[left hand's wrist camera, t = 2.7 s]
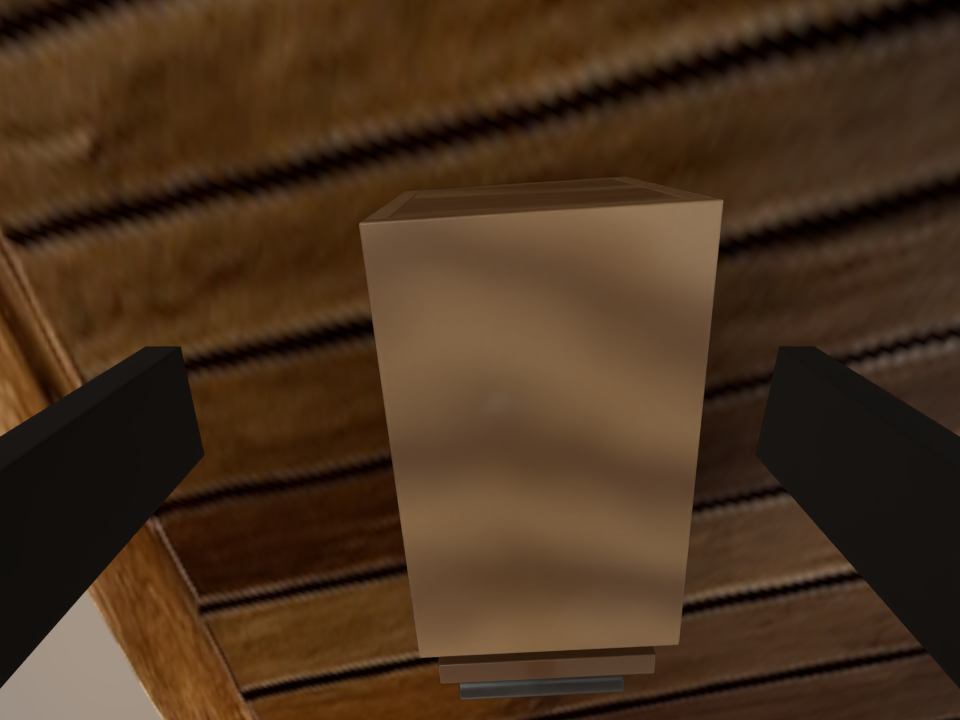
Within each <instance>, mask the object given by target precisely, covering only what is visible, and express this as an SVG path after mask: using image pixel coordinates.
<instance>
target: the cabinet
mask: <svg viewBox="0 0 960 720" xmlns="http://www.w3.org/2000/svg"><path fill="white" fill-rule="evenodd" d="M722 209H723V200H722V199H718V198H714V197H710V196H706V195H702V194H698V193H693V192H689V191H685V190H681V189H676V188H672V187H668V186H663V185H659V184H655V183H651V182H646V181H642V180H638V179H634V178H629V177H612V178H596V179H581V180H565V181H550V182H534V183H519V184H503V185H488V186H472V187H457V188H441V189H426V190H410V191H405V192H403V193H402V194H401V195H399V196H398V197H396V198H395V199H393V200H392V201H391V202H389V203H388V204H386V205H385V206H383V207H382V208H381V209H379V210H378V211H376V212H375V213H373V214H372V215H371V216H369V217H368V218H366V219H365V220H363V221H362V222H360V223H359V228H360V236H361V243H362V250H363V257H364V264H365V271H366V278H367V285H368V292H369V300H370V307H371V314H372V321H373V328H374V335H375V342H376V349H377V356H378V363H379V371H380V378H381V385H382V392H383V399H384V406H385V413H386V420H387V427H388V435H389V442H390V449H391V456H392V463H393V470H394V477H395V484H396V491H397V499H398V506H399V513H400V520H401V527H402V534H403V541H404V548H405V555H406V563H407V570H408V577H409V584H410V591H411V598H412V605H413V612H414V619H415V627H416V634H417V641H418V648H419V655H420V657H441V656H461V655H481V654H501V653H521V652H541V651H562V650H582V649H602V648H622V647H642V646H662V645H678V644H679V636H680V626H681V617H682V607H683V597H684V587H685V577H686V567H687V557H688V547H689V537H690V527H691V517H692V507H693V497H694V487H695V477H696V468H697V458H698V448H699V438H700V428H701V418H702V408H703V398H704V388H705V378H706V368H707V358H708V348H709V338H710V328H711V319H712V309H713V299H714V289H715V279H716V269H717V259H718V249H719V239H720V229H721V219H722Z"/></svg>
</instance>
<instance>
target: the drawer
mask: <svg viewBox="0 0 960 720" xmlns="http://www.w3.org/2000/svg"><path fill="white" fill-rule="evenodd" d="M655 657H656V654H655V651H654V648H653V646H642V647H622V648H602V649H582V650H562V651H541V652H521V653H501V654H481V655H461V656H441V657H439V673H440V681H441V683H459V688H460V698H461V699H462V700H465V699H486V698H507V697H527V696H548V695H569V694H589V693H610V692H623V689H624V680H623V675H626V674H646V673H654V669H655Z"/></svg>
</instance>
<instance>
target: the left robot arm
mask: <svg viewBox="0 0 960 720" xmlns="http://www.w3.org/2000/svg"><path fill="white" fill-rule="evenodd" d="M203 456H204V451H203V446H202V442H201V437H200V432H199V428H198V423H197V419H196V414H195V410H194V405H193V400H192V396H191V391H190V387H189V382H188V378H187V373H186V368H185V364H184V359H183V355H182V350H181V347H144V348H143V349H141V350H139V351H138V352H136V353H135V354H133V355H131V356H130V357H128V358H126V359H125V360H123V361H122V362H120V363H118V364H117V365H115V366H114V367H112V368H110V369H109V370H107V371H105V372H104V373H102V374H101V375H99V376H97V377H96V378H94V379H93V380H91V381H89V382H88V383H86V384H84V385H83V386H81V387H80V388H78V389H76V390H75V391H73V392H72V393H70V394H68V395H67V396H65V397H63V398H62V399H60V400H59V401H57V402H55V403H54V404H52V405H51V406H49V407H47V408H46V409H44V410H42V411H41V412H39V413H38V414H36V415H34V416H33V417H31V418H30V419H28V420H26V421H25V422H23V423H21V424H20V425H18V426H17V427H15V428H13V429H12V430H10V431H9V432H7V433H5V434H4V435H2V436H0V688H1V687H2V686H3V685H4V684H5V683H6V681H7V680H8V679H9V678H10V677H11V676H12V675H13V673H14V672H15V671H16V670H17V669H18V668H19V667H20V665H21V664H22V663H23V662H24V661H25V660H26V659H27V657H28V656H29V655H30V654H31V653H32V652H33V651H34V649H35V648H36V647H37V646H38V645H39V644H40V642H41V641H42V640H43V639H44V638H45V637H46V636H47V635H48V633H49V632H50V631H51V630H52V629H53V628H54V627H55V625H56V624H57V623H58V622H59V621H60V620H61V619H62V617H63V616H64V615H65V614H66V613H67V612H68V611H69V609H70V608H71V607H72V606H73V605H74V604H75V603H76V601H77V600H78V599H79V598H80V597H81V596H82V594H83V593H84V592H85V591H86V590H87V589H88V588H89V586H90V585H91V584H92V583H93V582H94V581H95V580H96V578H97V577H98V576H99V575H100V574H101V573H102V572H103V570H104V569H105V568H106V567H107V566H108V565H109V564H110V562H111V561H112V560H113V559H114V558H115V557H116V556H117V554H118V553H119V552H120V551H121V550H122V549H123V548H124V546H125V545H126V544H127V543H128V542H129V541H130V540H131V538H132V537H133V536H134V535H135V534H136V533H137V532H138V530H139V529H140V528H141V527H142V526H143V525H144V524H145V522H146V521H147V520H148V519H149V518H150V517H151V516H152V514H153V513H154V512H155V511H156V510H157V509H158V508H159V506H160V505H161V504H162V503H163V502H164V501H165V500H166V498H167V497H168V496H169V495H170V494H171V493H172V492H173V490H174V489H175V488H176V487H177V486H178V485H179V483H180V482H181V481H182V480H183V479H184V478H185V477H186V475H187V474H188V473H189V472H190V471H191V470H192V469H193V467H194V466H195V465H196V464H197V463H198V462H199V461H200V459H201V458H202V457H203ZM756 456H757V457H758V458H759V459H760V461H761V462H762V463H763V464H764V465H765V466H766V467H767V469H768V470H769V471H770V472H771V473H772V474H773V475H774V477H775V478H776V479H777V480H778V481H779V482H780V483H781V485H782V486H783V487H784V488H785V489H786V490H787V492H788V493H789V494H790V495H791V496H792V497H793V498H794V500H795V501H796V502H797V503H798V504H799V505H800V506H801V508H802V509H803V510H804V511H805V512H806V513H807V514H808V516H809V517H810V518H811V519H812V520H813V521H814V522H815V524H816V525H817V526H818V527H819V528H820V529H821V530H822V532H823V533H824V534H825V535H826V536H827V537H828V538H829V540H830V541H831V542H832V543H833V544H834V545H835V546H836V548H837V549H838V550H839V551H840V552H841V553H842V554H843V556H844V557H845V558H846V559H847V560H848V561H849V562H850V564H851V565H852V566H853V567H854V568H855V569H856V570H857V572H858V573H859V574H860V575H861V576H862V577H863V578H864V580H865V581H866V582H867V583H868V584H869V585H870V586H871V588H872V589H873V590H874V591H875V592H876V593H877V594H878V596H879V597H880V598H881V599H882V600H883V601H884V603H885V604H886V605H887V606H888V607H889V608H890V609H891V611H892V612H893V613H894V614H895V615H896V616H897V617H898V619H899V620H900V621H901V622H902V623H903V624H904V625H905V627H906V628H907V629H908V630H909V631H910V632H911V633H912V635H913V636H914V637H915V638H916V639H917V640H918V641H919V643H920V644H921V645H922V646H923V647H924V648H925V649H926V651H927V652H928V653H929V654H930V655H931V656H932V657H933V659H934V660H935V661H936V662H937V663H938V664H939V665H940V667H941V668H942V669H943V670H944V671H945V672H946V673H947V675H948V676H949V677H950V678H951V679H952V680H953V681H954V683H955V684H956V685H957V686H958V687H959V688H960V436H958V435H956V434H955V433H953V432H951V431H950V430H948V429H947V428H945V427H943V426H942V425H940V424H939V423H937V422H935V421H934V420H932V419H930V418H929V417H927V416H926V415H924V414H922V413H921V412H919V411H918V410H916V409H914V408H913V407H911V406H909V405H908V404H906V403H905V402H903V401H901V400H900V399H898V398H897V397H895V396H893V395H892V394H890V393H888V392H887V391H885V390H884V389H882V388H880V387H879V386H877V385H876V384H874V383H872V382H871V381H869V380H867V379H866V378H864V377H863V376H861V375H859V374H858V373H856V372H855V371H853V370H851V369H850V368H848V367H846V366H845V365H843V364H842V363H840V362H838V361H837V360H835V359H834V358H832V357H830V356H829V355H827V354H825V353H824V352H822V351H821V350H819V349H817V348H816V347H779V350H778V355H777V359H776V364H775V368H774V373H773V378H772V382H771V387H770V391H769V396H768V400H767V405H766V410H765V414H764V419H763V423H762V428H761V432H760V437H759V442H758V446H757V451H756Z"/></svg>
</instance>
